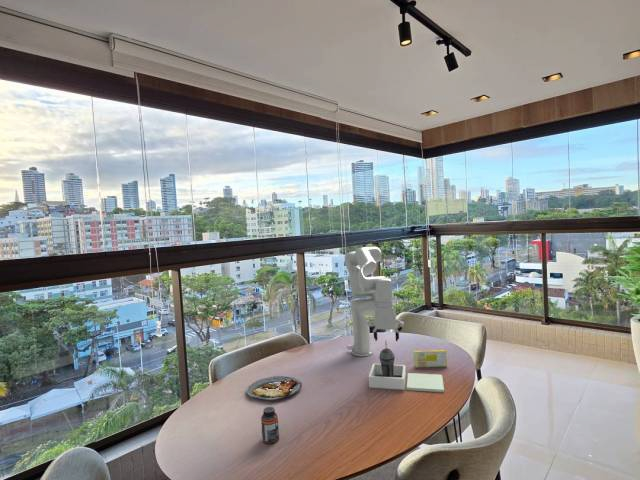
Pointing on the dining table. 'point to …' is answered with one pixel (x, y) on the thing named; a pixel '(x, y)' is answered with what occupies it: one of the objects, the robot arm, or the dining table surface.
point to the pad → (425, 382)
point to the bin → (387, 378)
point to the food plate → (274, 394)
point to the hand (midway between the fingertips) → (386, 340)
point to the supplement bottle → (269, 425)
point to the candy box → (430, 358)
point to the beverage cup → (387, 362)
